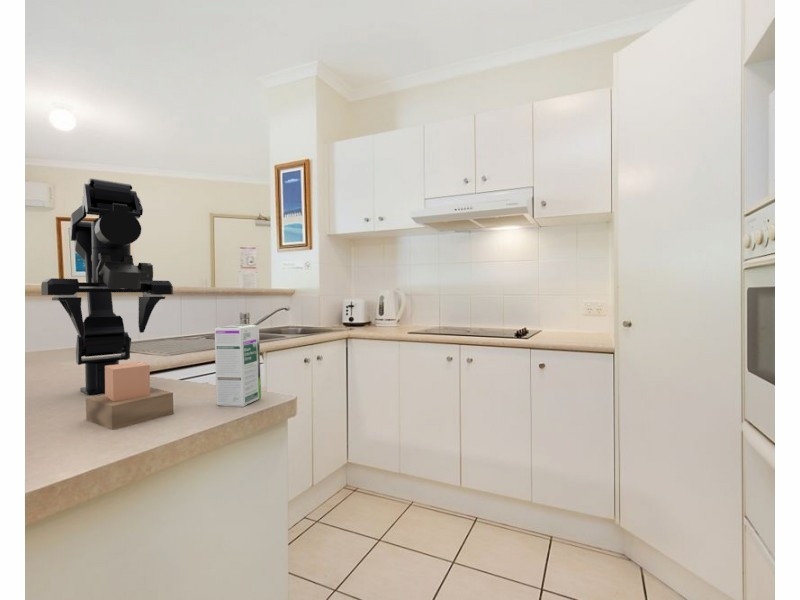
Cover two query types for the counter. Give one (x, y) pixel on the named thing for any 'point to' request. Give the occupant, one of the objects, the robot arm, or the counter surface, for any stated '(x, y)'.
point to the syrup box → (237, 365)
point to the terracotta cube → (127, 381)
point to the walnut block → (128, 409)
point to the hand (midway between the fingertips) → (113, 334)
